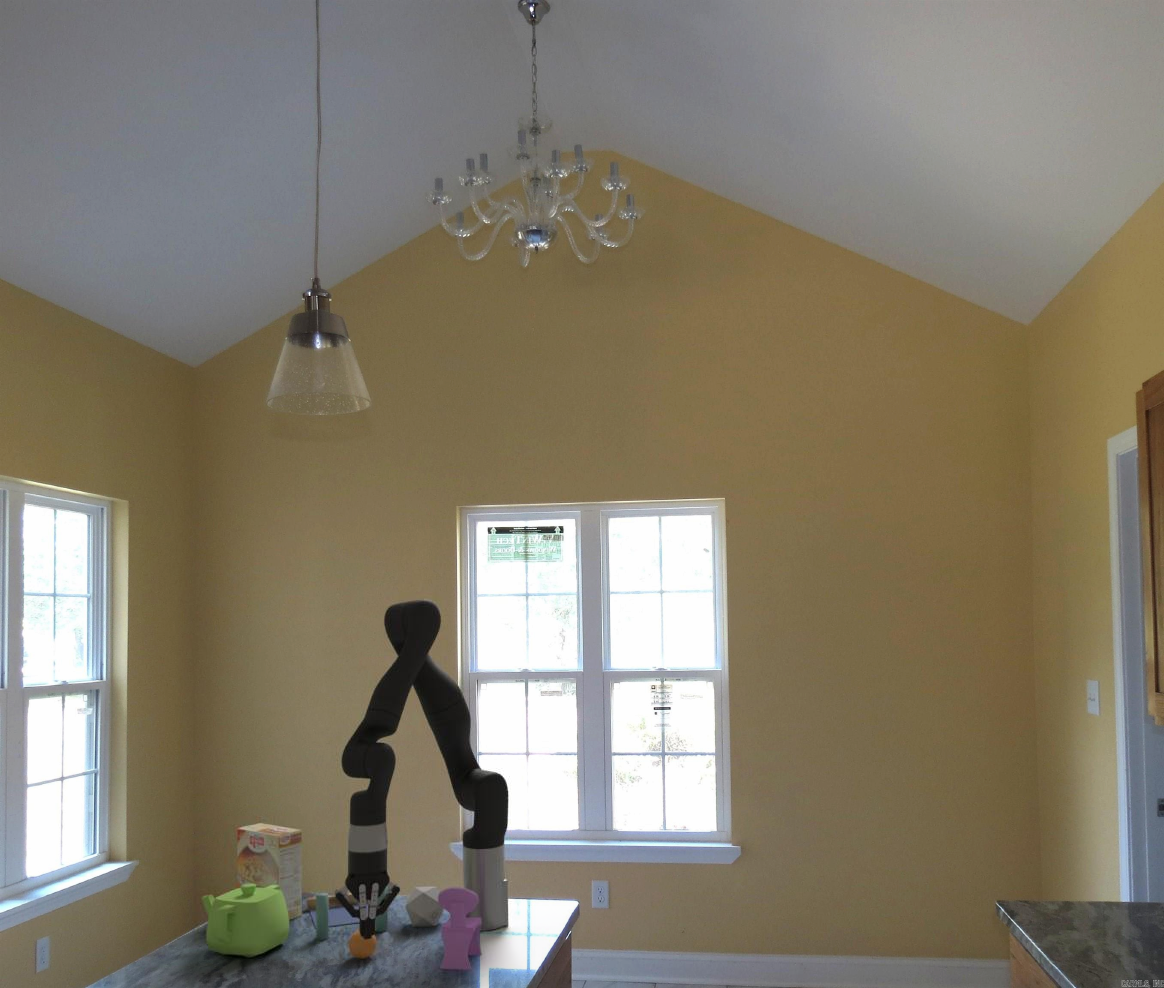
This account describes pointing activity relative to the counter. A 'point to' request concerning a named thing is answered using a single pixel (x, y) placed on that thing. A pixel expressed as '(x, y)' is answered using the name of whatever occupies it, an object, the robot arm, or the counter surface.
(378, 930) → the post
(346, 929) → the counter surface
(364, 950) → the ball
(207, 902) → the teapot
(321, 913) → the post
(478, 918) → the toy chair
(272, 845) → the coffeecake box
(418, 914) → the die
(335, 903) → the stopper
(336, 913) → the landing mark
